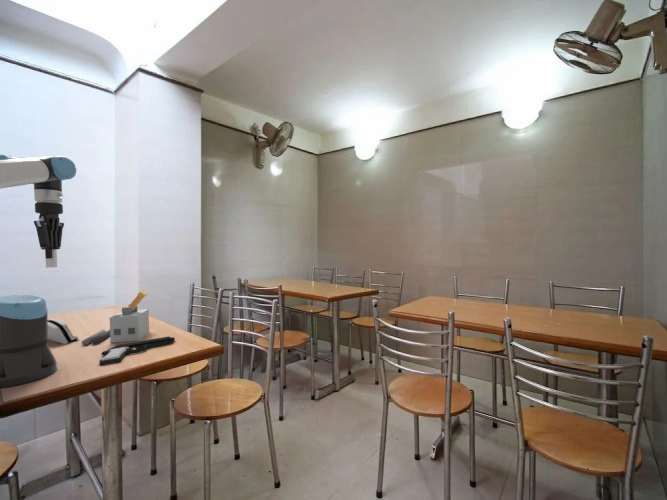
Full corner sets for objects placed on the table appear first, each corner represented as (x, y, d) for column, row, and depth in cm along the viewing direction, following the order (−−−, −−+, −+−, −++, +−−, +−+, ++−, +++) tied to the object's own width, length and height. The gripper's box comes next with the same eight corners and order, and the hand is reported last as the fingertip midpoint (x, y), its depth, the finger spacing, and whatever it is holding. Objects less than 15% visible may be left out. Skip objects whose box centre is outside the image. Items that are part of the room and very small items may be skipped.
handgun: (179, 345, 111) (173, 334, 123) (98, 359, 98) (101, 346, 111) (179, 352, 111) (174, 341, 123) (99, 368, 98) (102, 353, 111)
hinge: (79, 340, 125) (68, 319, 122) (66, 347, 122) (54, 325, 118) (59, 335, 133) (48, 315, 130) (46, 341, 129) (35, 321, 126)
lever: (122, 311, 126) (139, 291, 127) (127, 308, 130) (143, 289, 132) (128, 314, 126) (144, 295, 127) (132, 312, 131) (148, 293, 132)
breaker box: (110, 342, 122) (109, 309, 121) (123, 333, 133) (122, 303, 133) (138, 340, 124) (137, 308, 124) (149, 331, 136) (148, 302, 135)
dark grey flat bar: (81, 345, 119) (81, 339, 118) (99, 335, 132) (99, 329, 132) (98, 344, 120) (97, 338, 120) (114, 334, 133) (114, 328, 133)
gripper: (49, 200, 108) (52, 268, 108) (71, 204, 120) (73, 265, 121) (23, 200, 106) (26, 269, 107) (48, 204, 119) (51, 266, 119)
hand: (51, 267), depth 114 cm, fingers closed
